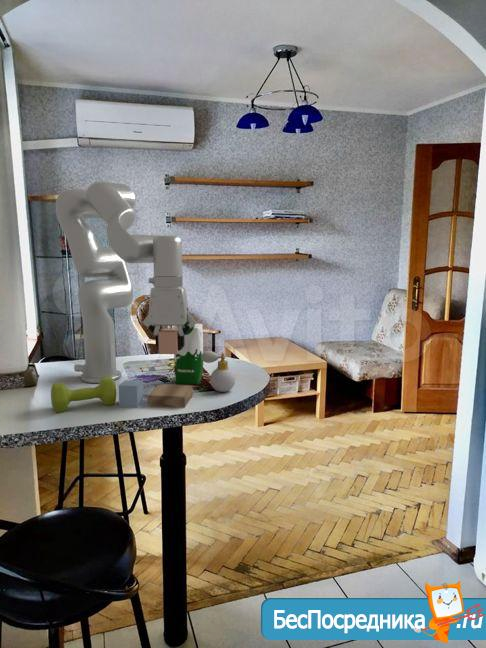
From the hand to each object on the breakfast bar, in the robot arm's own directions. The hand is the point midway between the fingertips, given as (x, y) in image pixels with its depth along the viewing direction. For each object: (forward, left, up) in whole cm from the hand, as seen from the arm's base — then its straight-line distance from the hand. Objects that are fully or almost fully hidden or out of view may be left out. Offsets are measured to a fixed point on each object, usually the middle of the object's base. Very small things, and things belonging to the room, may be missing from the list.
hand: (170, 348), depth 130 cm
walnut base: (0, 0, -15) cm, 15 cm away
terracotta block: (0, 0, -1) cm, 1 cm away
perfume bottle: (+12, +10, -15) cm, 22 cm away
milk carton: (+1, +19, -15) cm, 24 cm away
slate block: (-10, -4, -15) cm, 18 cm away
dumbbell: (-22, -7, -15) cm, 28 cm away
